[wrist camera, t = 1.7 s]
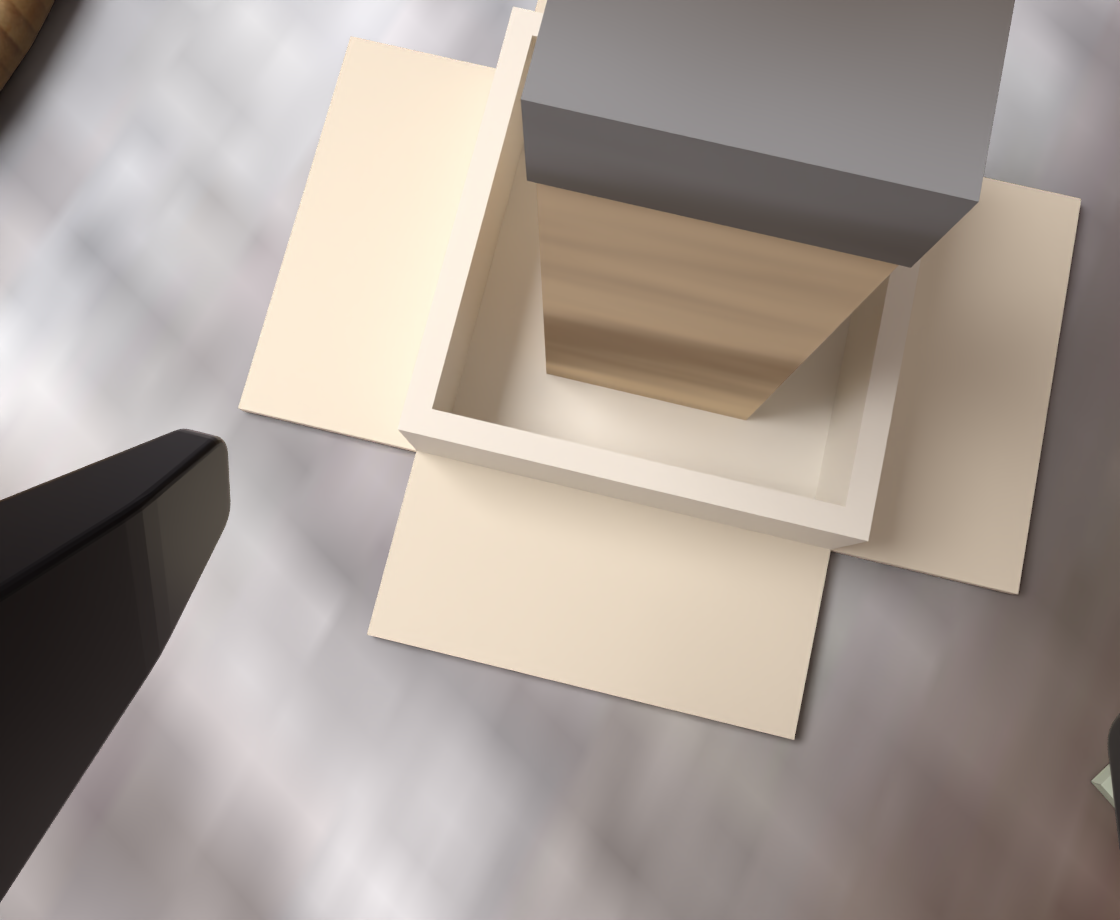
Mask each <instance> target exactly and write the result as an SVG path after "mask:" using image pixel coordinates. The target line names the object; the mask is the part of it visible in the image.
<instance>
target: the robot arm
mask: <svg viewBox="0 0 1120 920" xmlns="http://www.w3.org/2000/svg"><path fill="white" fill-rule="evenodd" d="M229 512H230V484H229V465H228V451H227V446H226V444H225V442H224V441H223V440H222V439H221V438H220V437H218V436H214V435H210V434H206V433H202V432H198V431H194V430H190V429H179V430H176V431H173V432H170V433H168V434H165V435H163V436H160V437H158V438H155V439H153V440H150V441H148V442H145V443H143V444H140V445H138V446H135V447H133V448H130V449H128V450H125V451H123V452H120V453H118V454H115V455H113V456H110V457H108V458H105V459H103V460H100V461H98V462H95V463H93V464H90V465H88V466H85V467H83V468H80V469H77V470H75V471H72V472H70V473H67V474H65V475H62V476H60V477H57V478H55V479H52V480H50V481H47V482H45V483H42V484H40V485H37V486H35V487H32V488H30V489H27V490H25V491H22V492H20V493H17V494H15V495H12V496H10V497H7V498H5V499H2V500H0V902H1V901H2V899H3V898H4V896H5V895H6V893H7V891H8V890H9V888H10V887H11V885H12V884H13V882H14V881H15V879H16V878H17V876H18V875H19V873H20V872H21V870H22V868H23V867H24V865H25V864H26V862H27V861H28V859H29V858H30V856H31V855H32V853H33V852H34V850H35V848H36V847H37V845H38V844H39V842H40V841H41V839H42V838H43V836H44V835H45V833H46V832H47V830H48V829H49V827H50V825H51V824H52V822H53V821H54V819H55V818H56V816H57V815H58V813H59V812H60V810H61V809H62V807H63V806H64V804H65V802H66V801H67V799H68V798H69V796H70V795H71V793H72V792H73V790H74V789H75V787H76V786H77V784H78V783H79V781H80V779H81V778H82V776H83V775H84V773H85V772H86V770H87V769H88V767H89V766H90V764H91V763H92V761H93V760H94V758H95V756H96V755H97V753H98V752H99V750H100V749H101V747H102V746H103V744H104V743H105V741H106V740H107V738H108V736H109V735H110V733H111V732H112V730H113V729H114V727H115V726H116V724H117V723H118V721H119V720H120V718H121V717H122V715H123V713H124V712H125V710H126V709H127V707H128V706H129V704H130V703H131V701H132V700H133V698H134V697H135V695H136V694H137V692H138V690H139V689H140V687H141V686H142V684H143V683H144V681H145V680H146V678H147V677H148V675H149V673H150V672H151V670H152V668H153V667H154V665H155V664H156V662H157V660H158V659H159V657H160V655H161V654H162V652H163V650H164V648H165V646H166V644H167V642H168V640H169V639H170V637H171V635H172V633H173V631H174V629H175V627H176V625H177V623H178V621H179V619H180V617H181V615H182V613H183V611H184V609H185V607H186V605H187V603H188V601H189V599H190V597H191V594H192V592H193V590H194V588H195V586H196V584H197V582H198V580H199V578H200V576H201V574H202V572H203V570H204V568H205V566H206V564H207V562H208V560H209V558H210V556H211V554H212V552H213V550H214V548H215V546H216V544H217V542H218V540H219V538H220V536H221V534H222V532H223V530H224V528H225V526H226V523H227V520H228V516H229ZM1108 756H1109V764H1110V772H1111V781H1112V789H1113V797H1114V806H1115V814H1116V823H1117V831H1118V839H1119V848H1120V714H1119V715H1118V716H1117V717H1116V719H1115V720H1114V722H1113V724H1112V726H1111V728H1110V731H1109V735H1108Z"/></svg>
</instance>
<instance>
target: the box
mask: <svg viewBox="0 0 1120 920" xmlns="http://www.w3.org/2000/svg"><path fill="white" fill-rule="evenodd" d="M1014 2H1015V0H547V3H546V7H545V10H544V14H543V18H542V21H541V25H540V29H539V33H538V36H537V40H536V44H535V48H534V51H533V55H532V59H531V63H530V66H529V70H528V74H527V78H526V81H525V85H524V89H523V92H522V96H521V110H522V123H523V137H524V150H525V163H526V177H527V181H530V182H534V183H536V188H537V206H538V225H539V244H540V263H541V282H542V300H543V319H544V338H545V357H546V374H550V375H554V376H559V377H563V378H567V379H572V380H576V381H580V382H584V383H589V384H593V385H597V386H601V387H606V388H610V389H614V390H618V391H623V392H627V393H631V394H636V395H640V396H644V397H648V398H653V399H657V400H661V401H665V402H670V403H674V404H678V405H682V406H687V407H691V408H695V409H700V410H704V411H708V412H712V413H717V414H721V415H725V416H729V417H734V418H738V419H742V420H747V419H748V418H749V417H750V416H751V415H752V414H753V413H754V412H755V411H756V410H757V409H758V408H759V407H760V406H761V405H762V404H763V403H764V402H765V401H766V400H767V399H768V398H769V397H770V395H771V394H772V393H773V392H774V391H775V390H776V389H777V388H778V387H779V386H780V385H781V384H782V383H783V382H784V381H785V380H786V379H787V378H788V377H789V376H790V375H791V374H792V373H793V372H794V371H795V370H796V369H797V368H798V367H799V366H800V365H801V364H802V363H803V362H804V361H805V360H806V359H807V358H808V357H809V356H810V355H811V354H812V353H813V352H814V351H815V350H816V349H817V348H818V347H819V346H820V345H821V344H822V343H823V342H824V341H825V340H826V339H827V338H828V337H829V336H830V335H831V334H832V333H833V331H834V330H835V329H836V328H837V327H838V326H839V325H840V324H841V323H842V322H843V321H844V320H845V319H846V318H847V317H848V316H849V315H850V314H851V313H852V312H853V311H854V310H855V309H856V308H857V307H858V306H859V305H860V304H861V303H862V302H863V301H864V300H865V299H866V298H867V297H868V296H869V295H870V294H871V293H872V292H873V291H874V290H875V289H876V288H877V287H878V286H879V285H880V284H881V283H882V282H883V281H884V280H885V279H886V278H887V277H888V276H889V275H890V274H891V273H892V272H893V271H894V270H895V269H896V267H897V266H898V265H901V266H905V267H909V268H911V267H912V266H913V265H914V264H915V263H916V262H917V261H918V260H919V259H921V258H922V257H923V256H924V255H925V254H926V253H927V252H928V251H929V250H930V249H931V248H932V247H933V246H934V245H935V244H936V243H937V242H938V241H939V240H940V239H941V238H942V237H943V236H944V235H945V234H946V233H947V232H948V231H949V230H950V229H951V228H952V227H953V226H954V225H955V224H956V223H958V222H959V221H960V220H961V219H962V218H963V217H964V216H965V215H966V214H967V213H968V212H969V211H970V210H971V209H972V208H973V207H974V206H975V205H976V204H977V203H978V202H979V198H980V193H981V187H982V182H983V176H984V170H985V165H986V159H987V154H988V148H989V142H990V137H991V131H992V126H993V120H994V114H995V109H996V103H997V98H998V92H999V86H1000V81H1001V75H1002V70H1003V64H1004V58H1005V53H1006V47H1007V42H1008V36H1009V30H1010V25H1011V19H1012V14H1013V8H1014Z"/></svg>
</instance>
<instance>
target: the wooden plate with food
mask: <svg viewBox="0 0 1120 920" xmlns="http://www.w3.org/2000/svg"><path fill="white" fill-rule="evenodd" d="M54 1H55V0H0V91H1V90H2V88H3V87H4V85H5V84H6V83H7V81H8V80H9V78H10V77H11V75H12V74H13V72H14V71H15V69H16V68H17V67H18V65H19V64H20V62H21V61H22V59H23V58H24V56H25V55H26V53H27V52H28V50H29V49H30V47H31V45H32V44H33V42H34V40H35V38H36V36H37V34H38V32H39V31H40V29H41V27H42V25H43V23H44V21H45V19H46V17H47V16H48V14H49V12H50V10H51V8H52V5H53V3H54Z"/></svg>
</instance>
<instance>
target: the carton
mask: <svg viewBox="0 0 1120 920" xmlns="http://www.w3.org/2000/svg"><path fill="white" fill-rule="evenodd" d="M546 3H547V0H538V2H537V6H536V9H535V11H531V10H526V9H522V8H517V7H513V9H512V12H511V16H510V20H509V23H508V27H507V31H506V34H505V38H504V42H503V45H502V49H501V53H500V56H499V60H498V64H497V67H496V69H495V68H491V67H486V66H482V65H477V64H473V63H468V62H464V61H459V60H455V59H450V58H446V57H441V56H437V55H432V54H428V53H423V52H419V51H414V50H410V49H405V48H401V47H396V46H392V45H387V44H383V43H378V42H374V41H369V40H365V39H360V38H356V37H350V41H349V44H348V47H347V51H346V54H345V57H344V60H343V64H342V67H341V70H340V74H339V77H338V80H337V84H336V87H335V90H334V93H333V97H332V100H331V103H330V107H329V110H328V113H327V117H326V120H325V123H324V126H323V130H322V133H321V136H320V140H319V143H318V146H317V150H316V153H315V156H314V159H313V163H312V166H311V169H310V173H309V176H308V179H307V183H306V186H305V189H304V192H303V196H302V199H301V202H300V206H299V209H298V212H297V216H296V219H295V222H294V225H293V229H292V232H291V235H290V239H289V242H288V245H287V249H286V252H285V255H284V259H283V262H282V265H281V268H280V272H279V275H278V278H277V282H276V285H275V288H274V292H273V295H272V298H271V301H270V305H269V308H268V311H267V315H266V318H265V321H264V325H263V328H262V331H261V334H260V338H259V341H258V344H257V348H256V351H255V354H254V358H253V361H252V364H251V367H250V371H249V374H248V377H247V381H246V384H245V387H244V391H243V394H242V397H241V400H240V404H239V407H238V408H239V409H240V410H242V411H246V412H250V413H254V414H258V415H262V416H267V417H271V418H275V419H279V420H283V421H288V422H292V423H296V424H300V425H304V426H309V427H313V428H317V429H321V430H325V431H329V432H334V433H338V434H342V435H346V436H350V437H355V438H359V439H363V440H367V441H371V442H376V443H380V444H384V445H388V446H392V447H396V448H401V449H405V450H409V451H413V452H416V455H415V459H414V462H413V466H412V470H411V473H410V477H409V481H408V485H407V488H406V492H405V496H404V499H403V503H402V507H401V511H400V514H399V518H398V522H397V525H396V529H395V533H394V537H393V540H392V544H391V548H390V551H389V555H388V559H387V563H386V566H385V570H384V574H383V577H382V581H381V585H380V588H379V592H378V596H377V600H376V603H375V607H374V611H373V614H372V618H371V622H370V626H369V629H368V633H367V635H371V636H375V637H379V638H383V639H387V640H391V641H395V642H399V643H403V644H407V645H411V646H415V647H420V648H424V649H428V650H432V651H436V652H440V653H444V654H448V655H452V656H456V657H460V658H464V659H468V660H472V661H476V662H480V663H484V664H488V665H492V666H497V667H501V668H505V669H509V670H513V671H517V672H521V673H525V674H529V675H533V676H537V677H541V678H545V679H549V680H553V681H557V682H561V683H565V684H570V685H574V686H578V687H582V688H586V689H590V690H594V691H598V692H602V693H606V694H610V695H614V696H618V697H622V698H626V699H630V700H634V701H638V702H642V703H647V704H651V705H655V706H659V707H663V708H667V709H671V710H675V711H679V712H683V713H687V714H691V715H695V716H699V717H703V718H707V719H711V720H715V721H719V722H724V723H728V724H732V725H736V726H740V727H744V728H748V729H752V730H756V731H760V732H764V733H768V734H772V735H776V736H780V737H784V738H788V739H792V740H794V738H795V732H796V727H797V722H798V717H799V712H800V707H801V701H802V696H803V691H804V686H805V681H806V676H807V670H808V665H809V660H810V655H811V650H812V645H813V639H814V634H815V629H816V624H817V619H818V613H819V608H820V603H821V598H822V593H823V588H824V582H825V577H826V572H827V567H828V562H829V557H830V551H832V552H836V553H840V554H845V555H849V556H853V557H857V558H861V559H866V560H870V561H874V562H878V563H882V564H886V565H891V566H895V567H899V568H903V569H907V570H912V571H916V572H920V573H924V574H928V575H933V576H937V577H941V578H945V579H949V580H953V581H958V582H962V583H966V584H970V585H974V586H979V587H983V588H987V589H991V590H995V591H1000V592H1004V593H1008V594H1018V592H1019V585H1020V579H1021V573H1022V567H1023V560H1024V554H1025V548H1026V542H1027V535H1028V529H1029V523H1030V516H1031V510H1032V504H1033V498H1034V491H1035V485H1036V479H1037V473H1038V466H1039V460H1040V454H1041V448H1042V441H1043V435H1044V429H1045V423H1046V416H1047V410H1048V404H1049V398H1050V391H1051V385H1052V379H1053V373H1054V366H1055V360H1056V354H1057V348H1058V341H1059V335H1060V329H1061V323H1062V316H1063V310H1064V304H1065V297H1066V291H1067V285H1068V279H1069V272H1070V266H1071V260H1072V254H1073V247H1074V241H1075V235H1076V229H1077V222H1078V216H1079V210H1080V204H1081V199H1080V198H1075V197H1071V196H1066V195H1062V194H1057V193H1053V192H1048V191H1044V190H1039V189H1035V188H1030V187H1026V186H1021V185H1017V184H1012V183H1008V182H1003V181H999V180H994V179H990V178H985V177H983V182H982V187H981V193H980V198H979V202H978V203H977V204H976V205H975V206H974V207H973V208H972V209H971V210H970V211H969V212H968V213H967V214H966V215H965V216H964V217H963V218H962V219H961V220H960V221H959V222H958V223H956V224H955V225H954V226H953V227H952V228H951V229H950V230H949V231H948V232H947V233H946V234H945V235H944V236H943V237H942V238H941V239H940V240H939V241H938V242H937V243H936V244H935V245H934V246H933V247H932V248H931V249H930V250H929V251H928V252H927V253H926V254H925V255H924V256H923V257H922V258H921V259H919V260H918V261H917V262H916V263H915V264H914V265H913V266H912V267H911V268H909V267H905V266H901V265H898V266H897V267H896V269H895V270H894V271H893V272H892V273H891V274H890V275H889V276H888V277H887V278H886V279H885V280H884V281H883V282H882V283H881V284H880V285H879V286H878V287H877V288H876V289H875V290H874V291H873V292H872V293H871V294H870V295H869V296H868V297H867V298H866V299H865V300H864V301H863V302H862V303H861V304H860V305H859V306H858V307H857V308H856V309H855V310H854V311H853V312H852V313H851V314H850V315H849V316H848V317H847V318H846V319H845V320H844V321H843V322H842V323H841V324H840V325H839V326H838V327H837V328H836V329H835V330H834V331H833V333H832V334H831V335H830V336H829V337H828V338H827V339H826V340H825V341H824V342H823V343H822V344H821V345H820V346H819V347H818V348H817V349H816V350H815V351H814V352H813V353H812V354H811V355H810V356H809V357H808V358H807V359H806V360H805V361H804V362H803V363H802V364H801V365H800V366H799V367H798V368H797V369H796V370H795V371H794V372H793V373H792V374H791V375H790V376H789V377H788V378H787V379H786V380H785V381H784V382H783V383H782V384H781V385H780V386H779V387H778V388H777V389H776V390H775V391H774V392H773V393H772V394H771V395H770V397H769V398H768V399H767V400H766V401H765V402H764V403H763V404H762V405H761V406H760V407H759V408H758V409H757V410H756V411H755V412H754V413H753V414H752V415H751V416H750V417H749V418H748V419H747V420H742V419H738V418H734V417H729V416H725V415H721V414H717V413H712V412H708V411H704V410H700V409H695V408H691V407H687V406H682V405H678V404H674V403H670V402H665V401H661V400H657V399H653V398H648V397H644V396H640V395H636V394H631V393H627V392H623V391H618V390H614V389H610V388H606V387H601V386H597V385H593V384H589V383H584V382H580V381H576V380H572V379H567V378H563V377H559V376H554V375H550V374H546V357H545V338H544V319H543V300H542V282H541V263H540V244H539V225H538V206H537V188H536V183H534V182H530V181H527V177H526V163H525V150H524V137H523V123H522V110H521V96H522V92H523V89H524V85H525V81H526V78H527V74H528V70H529V66H530V63H531V59H532V55H533V51H534V48H535V44H536V40H537V36H538V33H539V29H540V25H541V21H542V18H543V14H544V10H545V7H546Z"/></svg>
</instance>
